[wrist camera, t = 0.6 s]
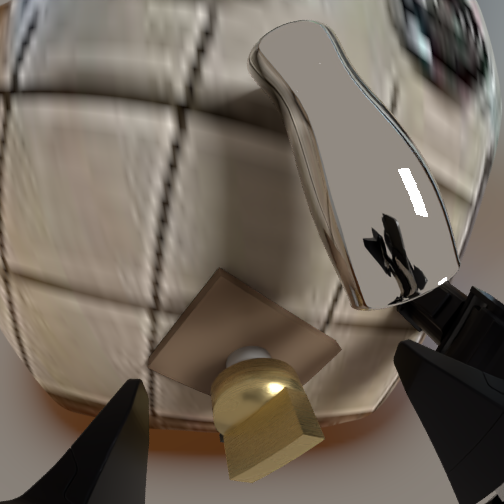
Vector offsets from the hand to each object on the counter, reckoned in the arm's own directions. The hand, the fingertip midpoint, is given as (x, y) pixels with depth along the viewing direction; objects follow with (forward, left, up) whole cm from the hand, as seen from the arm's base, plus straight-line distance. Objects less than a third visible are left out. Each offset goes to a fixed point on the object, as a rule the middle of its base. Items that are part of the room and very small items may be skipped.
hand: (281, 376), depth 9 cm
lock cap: (-7, +9, -9) cm, 14 cm away
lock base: (-7, +8, -14) cm, 17 cm away
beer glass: (+6, -12, -11) cm, 17 cm away
